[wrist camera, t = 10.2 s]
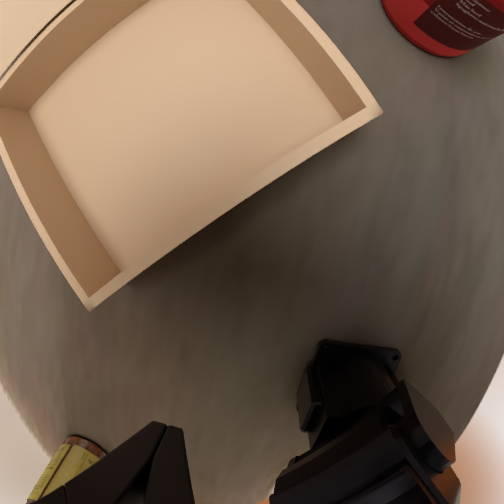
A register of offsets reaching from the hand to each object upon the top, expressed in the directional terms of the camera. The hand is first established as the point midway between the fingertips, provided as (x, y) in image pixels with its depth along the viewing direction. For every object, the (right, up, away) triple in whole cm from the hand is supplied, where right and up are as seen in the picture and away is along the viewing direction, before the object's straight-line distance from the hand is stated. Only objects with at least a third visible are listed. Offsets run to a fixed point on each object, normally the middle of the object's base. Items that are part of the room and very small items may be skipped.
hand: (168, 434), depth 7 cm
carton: (-4, +14, +10) cm, 18 cm away
